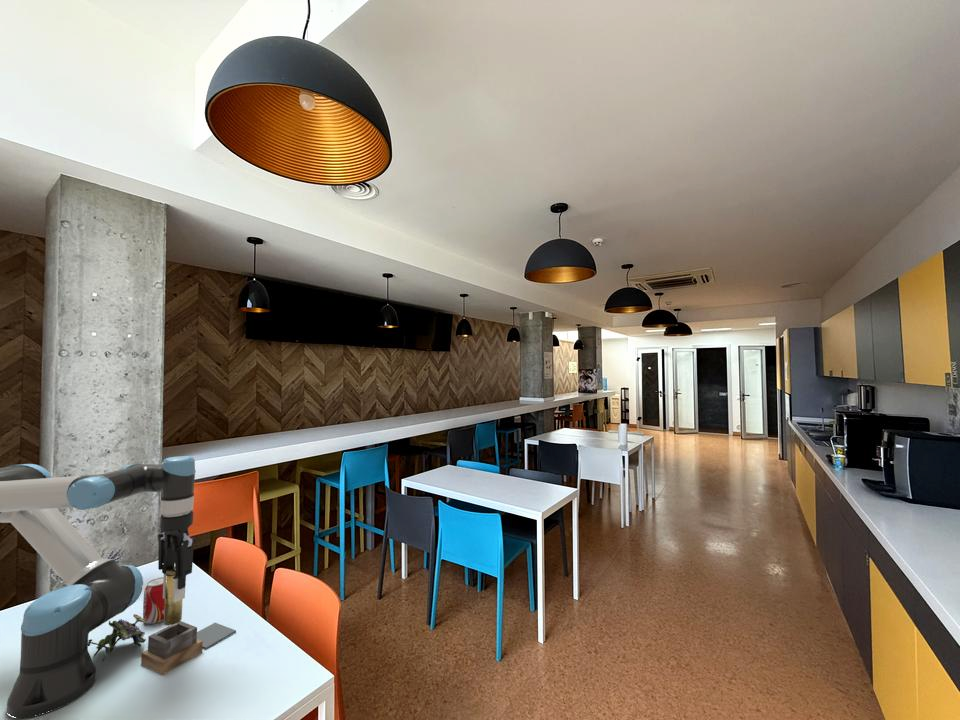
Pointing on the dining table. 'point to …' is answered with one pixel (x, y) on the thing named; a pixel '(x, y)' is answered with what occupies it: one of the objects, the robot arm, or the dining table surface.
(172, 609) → the brass cylinder
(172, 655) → the open box with base
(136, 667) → the dining table surface
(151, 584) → the soda can
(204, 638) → the rubber pad
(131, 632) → the passion flower
